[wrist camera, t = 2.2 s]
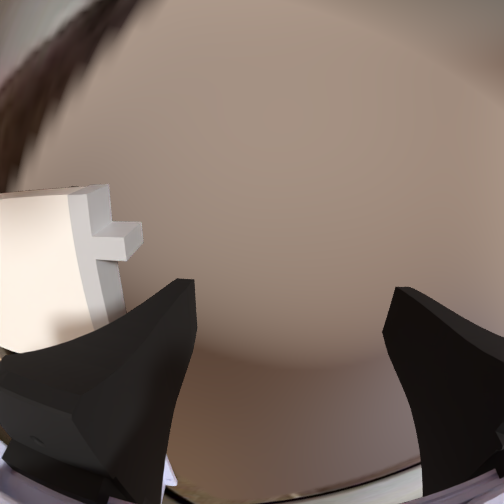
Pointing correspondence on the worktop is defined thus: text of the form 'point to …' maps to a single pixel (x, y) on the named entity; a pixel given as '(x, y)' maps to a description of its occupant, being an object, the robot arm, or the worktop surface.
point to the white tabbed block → (60, 265)
